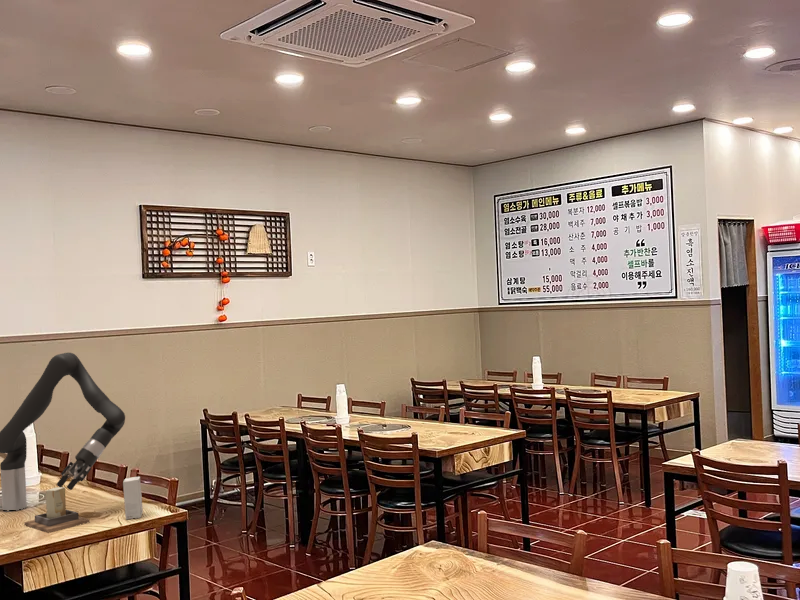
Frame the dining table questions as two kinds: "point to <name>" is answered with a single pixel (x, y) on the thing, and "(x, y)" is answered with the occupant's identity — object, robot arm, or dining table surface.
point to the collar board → (56, 521)
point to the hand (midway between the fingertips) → (63, 487)
